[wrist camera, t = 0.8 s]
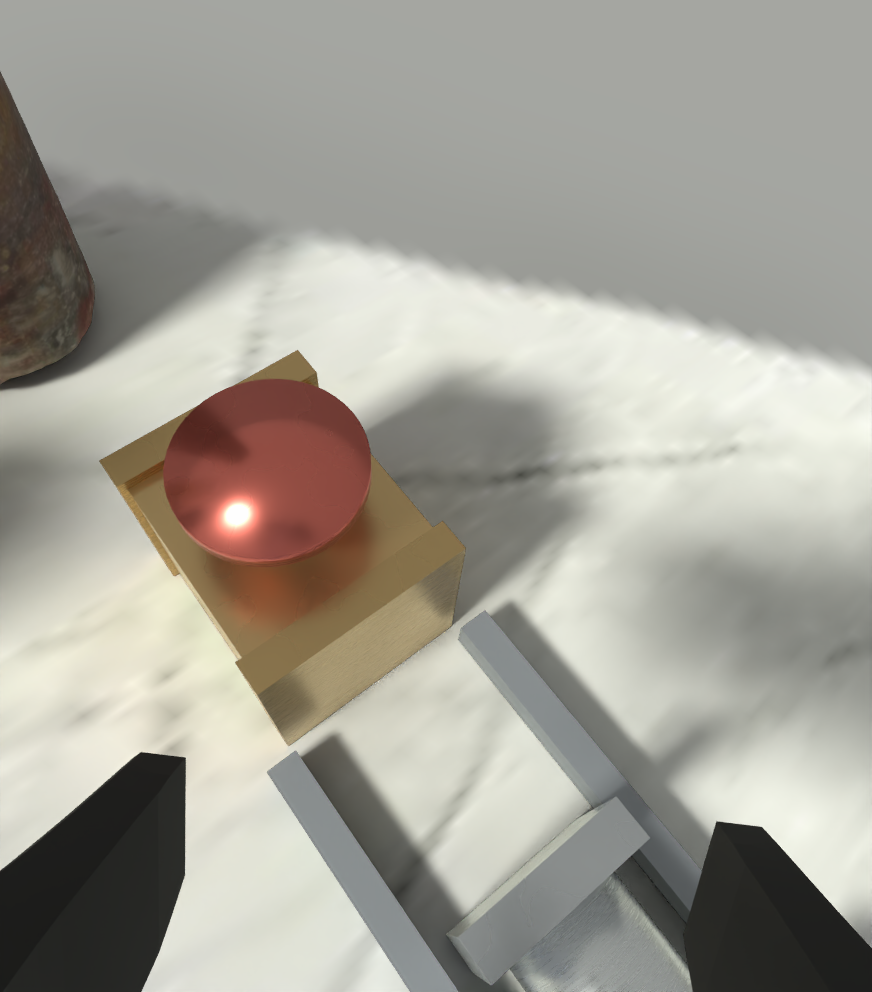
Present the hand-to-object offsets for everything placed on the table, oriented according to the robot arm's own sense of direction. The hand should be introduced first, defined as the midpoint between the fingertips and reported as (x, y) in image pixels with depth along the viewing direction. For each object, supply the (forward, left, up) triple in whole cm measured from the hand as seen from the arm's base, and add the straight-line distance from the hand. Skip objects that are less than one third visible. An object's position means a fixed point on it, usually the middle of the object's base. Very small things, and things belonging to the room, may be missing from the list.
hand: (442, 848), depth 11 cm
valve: (+10, -2, -14) cm, 17 cm away
